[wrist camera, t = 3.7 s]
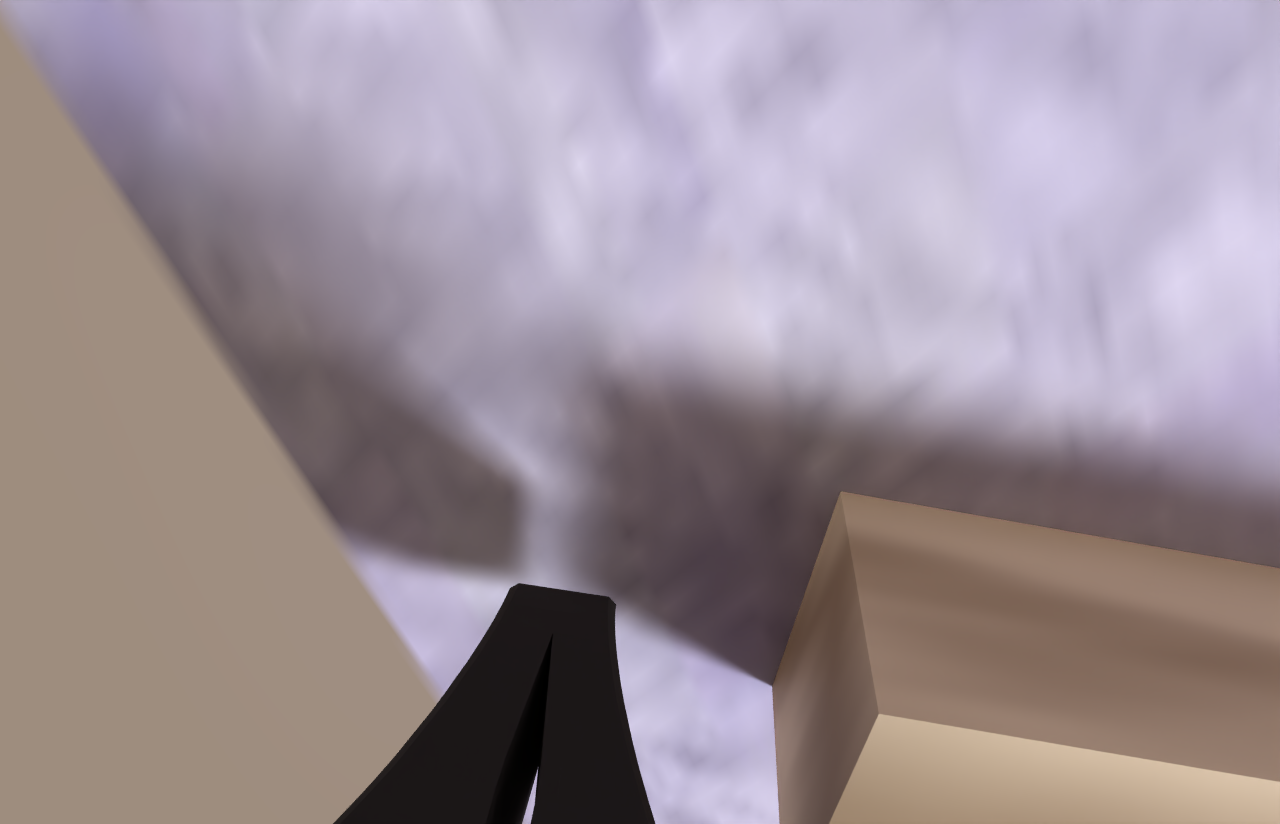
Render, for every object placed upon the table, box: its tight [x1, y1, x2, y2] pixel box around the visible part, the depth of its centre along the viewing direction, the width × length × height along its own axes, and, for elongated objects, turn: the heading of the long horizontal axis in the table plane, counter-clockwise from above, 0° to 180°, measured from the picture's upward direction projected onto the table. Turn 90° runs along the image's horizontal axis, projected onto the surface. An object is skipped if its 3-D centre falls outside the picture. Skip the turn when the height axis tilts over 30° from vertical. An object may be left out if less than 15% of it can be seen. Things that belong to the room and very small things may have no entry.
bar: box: [772, 491, 1280, 824], centre depth 12 cm, size 4×12×4 cm, turn 81°
